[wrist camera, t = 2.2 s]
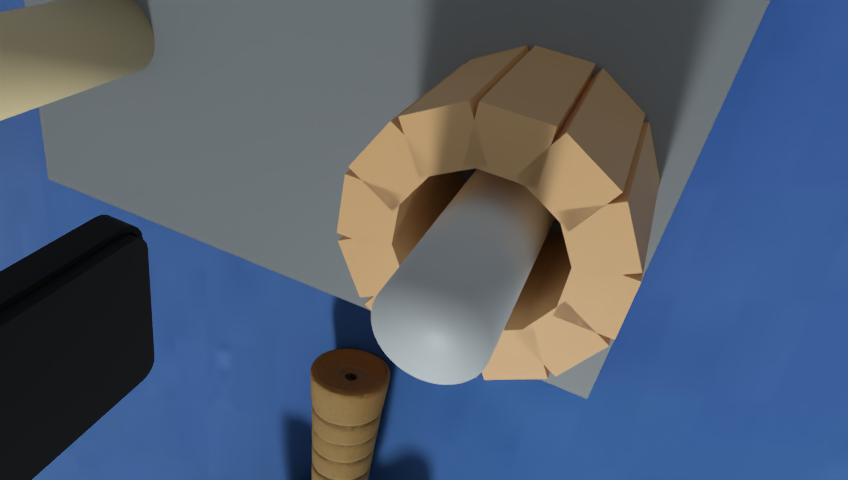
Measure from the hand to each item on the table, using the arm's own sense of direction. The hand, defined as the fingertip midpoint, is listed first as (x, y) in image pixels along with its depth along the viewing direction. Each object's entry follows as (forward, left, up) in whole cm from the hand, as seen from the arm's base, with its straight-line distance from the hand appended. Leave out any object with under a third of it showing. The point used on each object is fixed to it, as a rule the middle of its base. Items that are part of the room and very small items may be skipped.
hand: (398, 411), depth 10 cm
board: (0, +7, -11) cm, 14 cm away
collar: (0, 0, -10) cm, 10 cm away
